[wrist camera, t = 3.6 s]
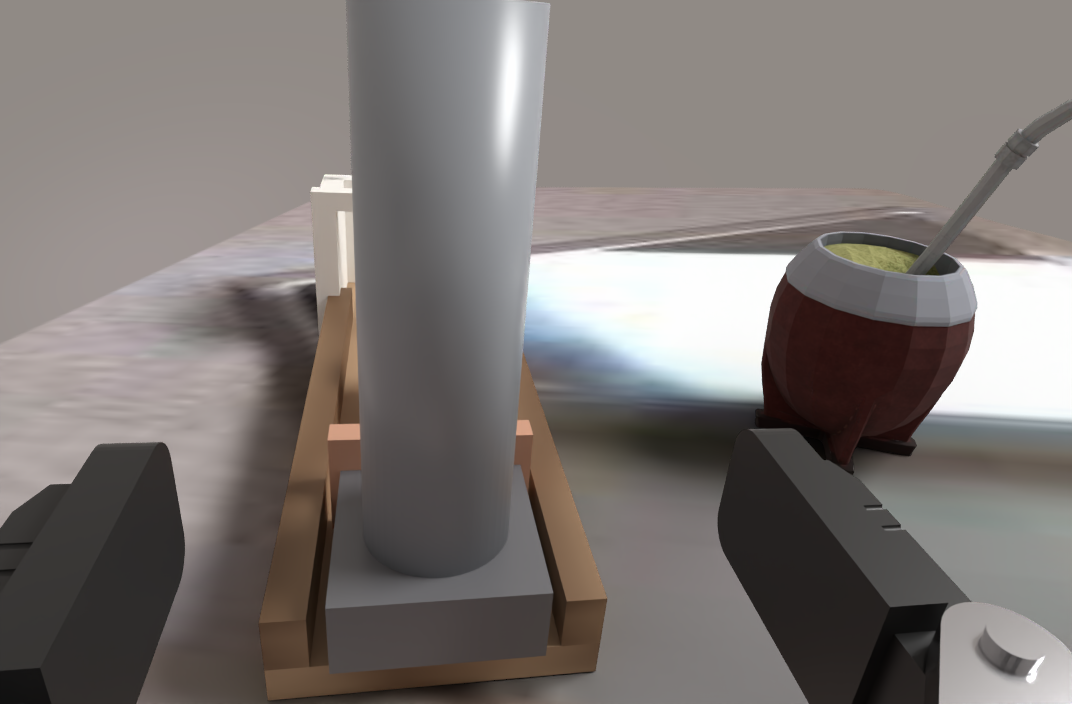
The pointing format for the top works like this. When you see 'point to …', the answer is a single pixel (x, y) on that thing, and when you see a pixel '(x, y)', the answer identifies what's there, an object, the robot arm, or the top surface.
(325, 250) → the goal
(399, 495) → the grey tall cylindrical piece
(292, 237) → the top surface
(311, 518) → the track
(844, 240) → the mate gourd
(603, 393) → the top surface
